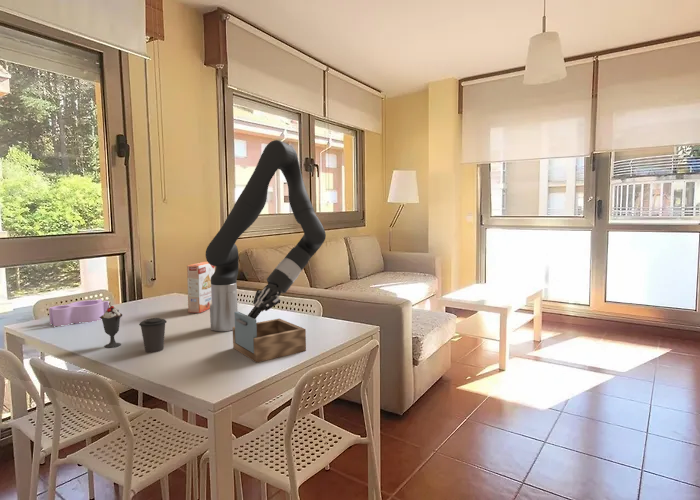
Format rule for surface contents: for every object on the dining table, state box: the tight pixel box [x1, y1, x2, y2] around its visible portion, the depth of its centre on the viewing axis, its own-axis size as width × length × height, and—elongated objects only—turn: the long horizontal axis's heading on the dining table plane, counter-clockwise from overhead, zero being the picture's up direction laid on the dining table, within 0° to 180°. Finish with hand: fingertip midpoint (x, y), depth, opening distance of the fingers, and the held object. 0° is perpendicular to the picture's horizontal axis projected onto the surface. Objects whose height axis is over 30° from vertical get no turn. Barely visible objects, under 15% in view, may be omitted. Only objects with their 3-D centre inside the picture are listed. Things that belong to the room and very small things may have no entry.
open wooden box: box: [232, 318, 307, 363], centre depth 140 cm, size 17×17×7 cm
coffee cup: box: [138, 317, 167, 354], centre depth 140 cm, size 8×8×10 cm
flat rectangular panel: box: [234, 311, 257, 353], centre depth 135 cm, size 2×13×10 cm, turn 38°
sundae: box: [99, 302, 123, 349], centre depth 145 cm, size 7×7×15 cm
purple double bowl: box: [48, 298, 110, 327], centre depth 178 cm, size 20×12×7 cm, turn 141°
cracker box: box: [186, 261, 216, 314], centre depth 195 cm, size 14×6×21 cm, turn 168°
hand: (250, 318), depth 136 cm, fingers closed
